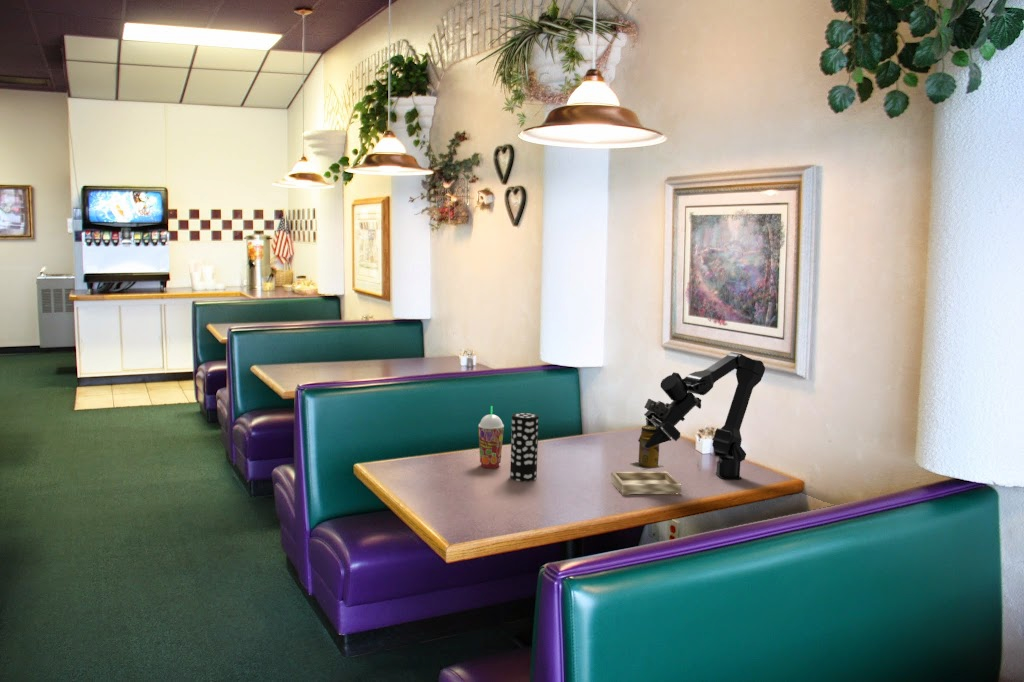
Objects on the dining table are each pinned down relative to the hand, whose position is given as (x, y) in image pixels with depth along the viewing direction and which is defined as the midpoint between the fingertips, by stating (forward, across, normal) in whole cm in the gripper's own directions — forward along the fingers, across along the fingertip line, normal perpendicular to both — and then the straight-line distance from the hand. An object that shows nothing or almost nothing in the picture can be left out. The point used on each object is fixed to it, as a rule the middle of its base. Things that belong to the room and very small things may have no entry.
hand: (642, 444), depth 265 cm
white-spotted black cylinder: (+34, -12, -15) cm, 39 cm away
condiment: (+4, 0, +6) cm, 7 cm away
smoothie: (+40, -26, -21) cm, 52 cm away
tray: (+9, +1, +10) cm, 14 cm away
